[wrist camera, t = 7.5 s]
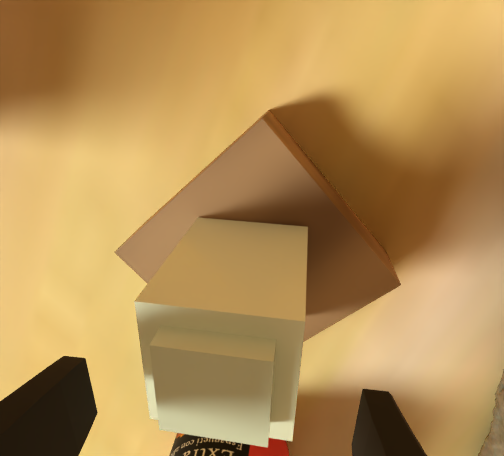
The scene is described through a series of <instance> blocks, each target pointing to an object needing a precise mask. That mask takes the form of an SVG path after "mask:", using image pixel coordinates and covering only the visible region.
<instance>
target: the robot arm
mask: <svg viewBox="0 0 504 456" xmlns="http://www.w3.org/2000/svg"><path fill="white" fill-rule="evenodd" d="M96 415H97V409H96V404H95V400H94V395H93V391H92V386H91V382H90V377H89V373H88V368H87V364H86V359H85V358H78V357H69V356H63V357H62V358H60V359H59V360H57V361H56V362H54V363H53V364H52V365H50V366H49V367H47V368H46V369H45V370H43V371H42V372H40V373H39V374H38V375H36V376H35V377H33V378H32V379H31V380H29V381H28V382H27V383H25V384H24V385H22V386H21V387H20V388H18V389H17V390H16V391H14V392H13V393H11V394H10V395H9V396H7V397H6V398H4V399H3V400H2V401H0V456H78V455H79V453H80V451H81V449H82V447H83V445H84V442H85V440H86V438H87V436H88V434H89V431H90V429H91V427H92V424H93V422H94V420H95V417H96ZM352 455H353V456H427V455H426V454H425V452H424V450H423V449H422V447H421V445H420V444H419V442H418V440H417V439H416V437H415V435H414V434H413V432H412V430H411V429H410V427H409V425H408V423H407V422H406V420H405V418H404V416H403V415H402V413H401V411H400V409H399V408H398V406H397V404H396V402H395V400H394V398H393V397H392V395H391V394H390V393H389V392H386V391H377V390H368V389H363V390H362V395H361V400H360V405H359V410H358V415H357V420H356V426H355V431H354V436H353V441H352Z"/></svg>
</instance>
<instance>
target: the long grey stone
mask: <svg viewBox="0 0 504 456" xmlns="http://www.w3.org/2000/svg"><path fill="white" fill-rule="evenodd" d="M495 396H496V399H495V402H496V406H495V408H494V409H493V415H494V420H493V421H492V422H491V426H492V427H491V432H490V433H489V436H487V438H486V439H485V442H484V445H483V446H482V448H481V452H480V453H479V454H478V456H504V371H503V376H502V379H501V382H500V384H499V385H498V389H497V392H496V394H495Z"/></svg>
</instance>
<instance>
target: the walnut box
mask: <svg viewBox="0 0 504 456" xmlns="http://www.w3.org/2000/svg"><path fill="white" fill-rule="evenodd" d="M198 217H199V218H211V219H222V220H234V221H246V222H258V223H270V224H281V225H293V226H305V227H308V243H307V279H306V314H305V329H304V338H303V342H304V341H306V340H307V339H309V338H311V337H312V336H314V335H316V334H318V333H319V332H321V331H323V330H324V329H326V328H328V327H330V326H331V325H333V324H335V323H336V322H338V321H340V320H342V319H343V318H345V317H347V316H348V315H350V314H352V313H354V312H355V311H357V310H359V309H360V308H362V307H364V306H366V305H367V304H369V303H371V302H372V301H374V300H376V299H378V298H379V297H381V296H383V295H385V294H386V293H388V292H390V291H391V290H393V289H395V288H397V287H398V286H400V285H401V284H400V281H399V279H398V277H397V275H396V273H395V270H394V268H393V266H392V264H391V262H390V260H389V257H388V255H387V253H386V251H385V250H384V249H383V248H382V246H381V245H380V244H379V243H378V241H377V240H376V239H375V238H374V237H373V235H372V234H371V233H370V232H369V231H368V229H367V228H366V227H365V226H364V224H363V223H362V222H361V221H360V220H359V218H358V217H357V216H356V215H355V214H354V212H353V211H352V210H351V209H350V207H349V206H348V205H347V204H346V203H345V201H344V200H343V199H342V198H341V197H340V195H339V194H338V193H337V192H336V190H335V189H334V188H333V187H332V186H331V184H330V183H329V182H328V181H327V180H326V178H325V177H324V176H323V175H322V173H321V172H320V171H319V170H318V169H317V167H316V166H315V165H314V164H313V163H312V161H311V160H310V159H309V158H308V156H307V155H306V154H305V153H304V152H303V150H302V149H301V148H300V147H299V146H298V144H297V143H296V142H295V141H294V139H293V138H292V137H291V136H290V135H289V133H288V132H287V131H286V130H285V129H284V127H283V126H282V125H281V124H280V122H279V121H278V120H277V119H276V118H275V116H274V115H273V114H272V113H271V112H270V110H268V111H267V112H266V113H265V114H264V115H263V116H262V117H261V118H259V119H258V120H257V121H256V122H255V123H254V124H253V125H252V126H251V127H250V128H248V129H247V130H246V131H245V132H244V133H243V134H242V135H241V136H240V137H239V138H237V139H236V140H235V141H234V142H233V143H232V144H231V145H230V146H229V147H228V148H226V149H225V150H224V151H223V152H222V153H221V154H220V155H219V156H218V157H217V158H215V159H214V160H213V161H212V162H211V163H210V164H209V165H208V166H207V167H206V168H204V169H203V170H202V171H201V172H200V173H199V174H198V175H197V176H196V177H195V178H193V179H192V180H191V181H190V182H189V183H188V184H187V185H186V186H185V187H184V188H182V189H181V190H180V191H179V192H178V193H177V194H176V195H175V196H174V197H173V198H171V199H170V200H169V201H168V202H167V203H166V204H165V205H164V206H163V207H162V208H160V209H159V210H158V211H157V212H156V213H155V214H154V215H153V216H152V217H151V218H149V219H148V220H147V221H146V222H145V223H144V224H143V225H142V226H141V227H140V228H139V229H138V230H137V231H136V232H135V233H134V234H132V235H131V236H130V237H129V238H128V239H127V240H126V241H125V242H124V243H123V244H122V245H121V246H120V247H119V248H118V249H117V250H116V251H115V253H116V254H117V255H118V256H119V257H120V258H121V259H122V260H123V261H124V262H125V263H126V264H127V265H128V266H129V267H131V268H132V269H133V270H134V271H135V272H136V273H137V274H138V275H139V276H140V277H141V278H142V279H143V280H144V281H145V282H146V283H149V281H150V280H151V279H152V278H153V276H154V275H155V274H156V272H157V271H158V270H159V268H160V267H161V266H162V264H163V263H164V262H165V260H166V259H167V258H168V256H169V255H170V254H171V252H172V251H173V250H174V248H175V247H176V246H177V244H178V243H179V242H180V240H181V239H182V238H183V236H184V235H185V234H186V232H187V231H188V230H189V228H190V227H191V226H192V224H193V223H194V222H195V220H196V219H197V218H198Z"/></svg>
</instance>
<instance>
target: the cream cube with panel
mask: <svg viewBox="0 0 504 456" xmlns="http://www.w3.org/2000/svg"><path fill="white" fill-rule="evenodd" d="M307 243H308V227H305V226H293V225H281V224H270V223H258V222H246V221H234V220H222V219H211V218H199V217H198V218H197V219H196V220H195V222H194V223H193V224H192V226H191V227H190V228H189V230H188V231H187V232H186V234H185V235H184V236H183V238H182V239H181V240H180V242H179V243H178V244H177V246H176V247H175V248H174V250H173V251H172V252H171V254H170V255H169V256H168V258H167V259H166V260H165V262H164V263H163V264H162V266H161V267H160V268H159V270H158V271H157V272H156V274H155V275H154V276H153V278H152V279H151V280H150V281H149V283H148V284H147V285H146V287H145V288H144V289H143V291H142V292H141V293H140V295H139V296H138V297H137V299H136V300H135V309H136V316H137V324H138V332H139V339H140V347H141V354H142V362H143V370H144V377H145V385H146V392H147V400H148V408H149V415H150V419H155V420H158V422H159V430H164V431H170V432H176V433H182V434H188V435H194V436H200V437H206V438H212V439H219V440H225V441H231V442H237V443H243V444H249V445H255V446H261V447H267V448H268V441H269V438H274V439H280V440H286V441H292V439H293V430H294V421H295V412H296V403H297V393H298V384H299V375H300V366H301V356H302V347H303V338H304V329H305V314H306V279H307Z"/></svg>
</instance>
